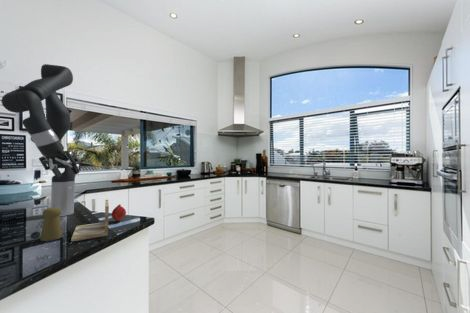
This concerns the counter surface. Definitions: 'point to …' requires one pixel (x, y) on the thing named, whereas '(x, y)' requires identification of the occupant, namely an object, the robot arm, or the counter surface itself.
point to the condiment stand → (92, 228)
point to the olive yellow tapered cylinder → (51, 224)
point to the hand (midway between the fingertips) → (68, 175)
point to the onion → (118, 213)
